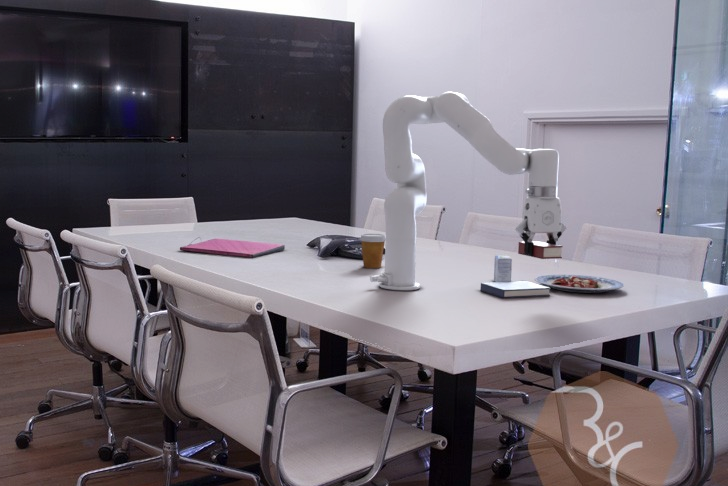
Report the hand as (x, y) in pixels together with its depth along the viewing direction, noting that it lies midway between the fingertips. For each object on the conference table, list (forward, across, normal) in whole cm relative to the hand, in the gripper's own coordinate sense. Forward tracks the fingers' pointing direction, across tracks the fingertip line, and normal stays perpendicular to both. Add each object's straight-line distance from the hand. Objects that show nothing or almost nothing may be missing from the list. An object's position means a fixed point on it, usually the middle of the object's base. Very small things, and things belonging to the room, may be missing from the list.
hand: (539, 254), depth 219 cm
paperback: (0, 0, 0) cm, 0 cm away
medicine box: (+14, +9, +30) cm, 35 cm away
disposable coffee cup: (+14, -19, +71) cm, 74 cm away
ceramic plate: (+14, +27, +16) cm, 35 cm away
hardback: (+14, +2, +14) cm, 19 cm away
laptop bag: (+14, -60, +126) cm, 140 cm away
